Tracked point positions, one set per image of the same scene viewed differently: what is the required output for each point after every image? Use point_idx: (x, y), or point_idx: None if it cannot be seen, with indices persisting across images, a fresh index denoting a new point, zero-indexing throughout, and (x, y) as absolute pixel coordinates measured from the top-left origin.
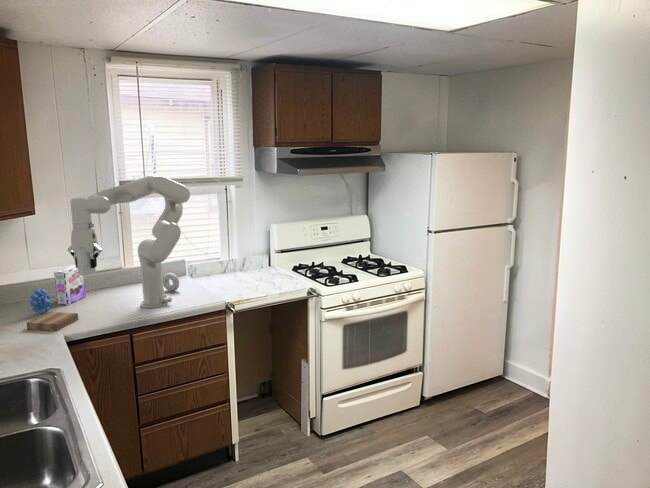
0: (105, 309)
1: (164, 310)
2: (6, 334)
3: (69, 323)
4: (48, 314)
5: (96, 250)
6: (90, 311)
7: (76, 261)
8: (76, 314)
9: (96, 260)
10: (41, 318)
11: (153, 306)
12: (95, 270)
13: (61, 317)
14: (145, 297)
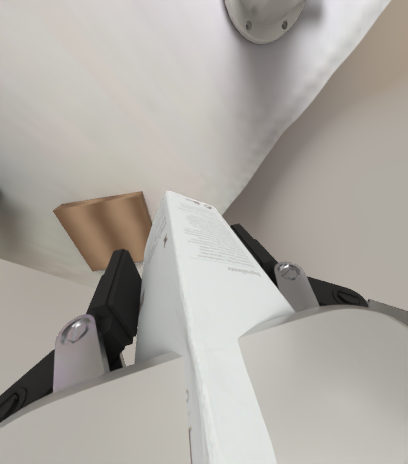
0: (136, 87)
1: (311, 56)
2: (89, 285)
3: (150, 220)
4: (76, 225)
5: (350, 315)
6: (108, 121)
7: (135, 320)
8: (142, 200)
9: (272, 257)
10: (93, 247)
11: (281, 35)
12: (218, 214)
13: (131, 229)
14: (269, 2)
